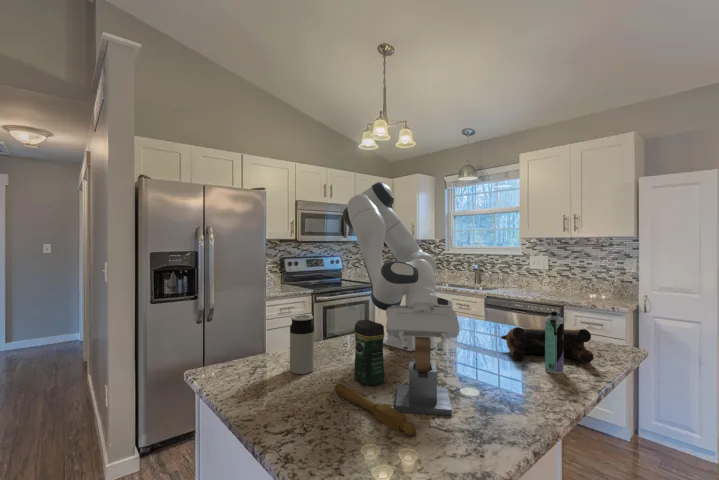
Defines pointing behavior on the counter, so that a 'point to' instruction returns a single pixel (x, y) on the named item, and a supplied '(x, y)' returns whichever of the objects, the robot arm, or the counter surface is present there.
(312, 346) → the travel mug
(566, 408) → the counter surface
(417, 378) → the stand
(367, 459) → the counter surface
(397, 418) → the tap handle
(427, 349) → the column
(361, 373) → the coffee jar
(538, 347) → the stuffed animal
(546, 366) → the spray can
